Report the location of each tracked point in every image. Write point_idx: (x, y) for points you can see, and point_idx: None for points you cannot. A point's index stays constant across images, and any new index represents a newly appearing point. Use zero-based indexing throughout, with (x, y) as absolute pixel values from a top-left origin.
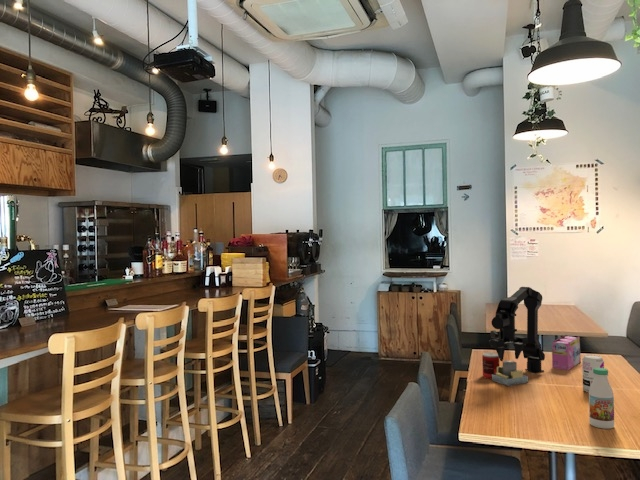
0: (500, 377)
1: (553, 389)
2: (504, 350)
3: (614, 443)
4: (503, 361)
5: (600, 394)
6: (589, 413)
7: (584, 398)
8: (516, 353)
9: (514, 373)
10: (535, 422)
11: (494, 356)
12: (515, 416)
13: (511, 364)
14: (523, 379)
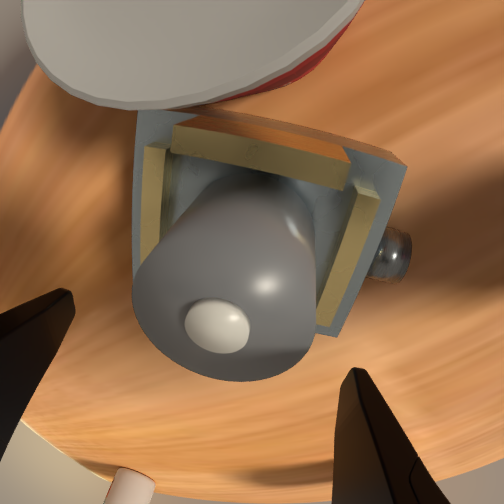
0: (134, 214)
1: (301, 413)
2: (2, 455)
3: (101, 473)
4: (176, 250)
5: None
6: (114, 482)
7: (274, 467)
8: (353, 451)
9: None
10: (37, 409)
11: (92, 101)
12: None
13: (176, 355)
14: None
